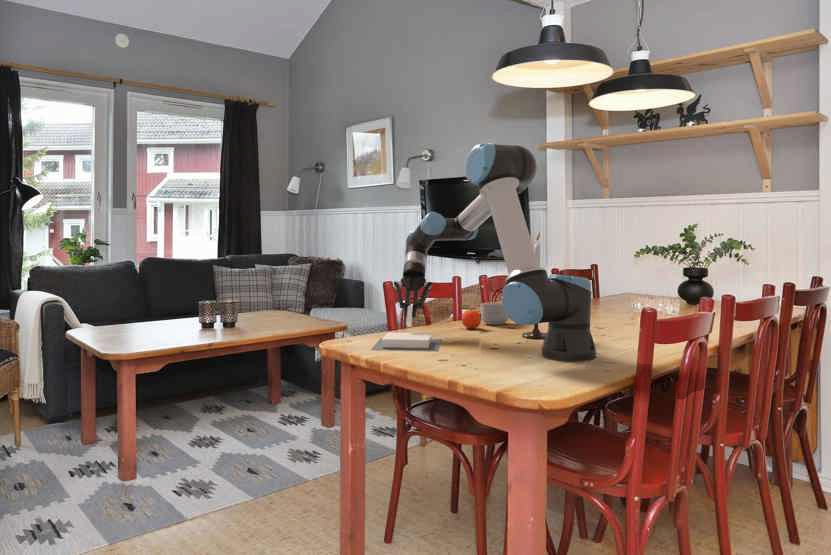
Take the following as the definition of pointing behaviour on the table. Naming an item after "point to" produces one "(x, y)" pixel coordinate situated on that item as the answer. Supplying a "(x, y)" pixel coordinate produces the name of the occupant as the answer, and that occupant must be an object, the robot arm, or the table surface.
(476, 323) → the clementine
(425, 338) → the tile
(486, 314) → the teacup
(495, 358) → the table surface
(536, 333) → the candlestick
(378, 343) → the mat
